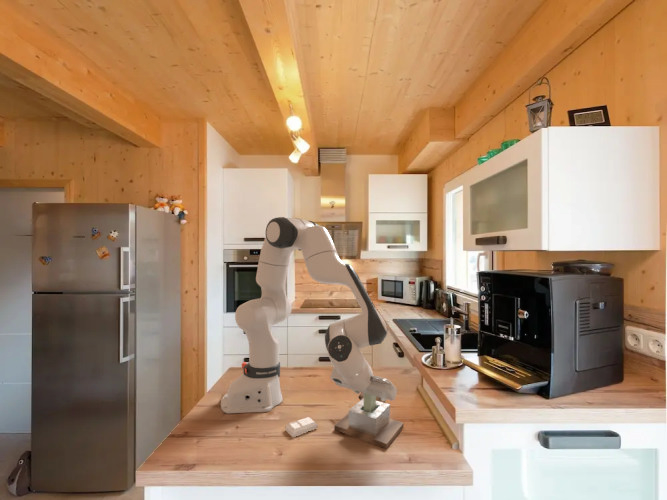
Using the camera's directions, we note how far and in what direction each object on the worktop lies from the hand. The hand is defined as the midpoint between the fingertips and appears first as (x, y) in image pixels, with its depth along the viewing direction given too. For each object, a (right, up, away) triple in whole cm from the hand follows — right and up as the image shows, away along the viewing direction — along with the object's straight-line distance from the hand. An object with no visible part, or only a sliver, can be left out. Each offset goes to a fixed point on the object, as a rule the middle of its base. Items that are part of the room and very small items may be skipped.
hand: (370, 394), depth 109 cm
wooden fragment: (+3, -11, +24) cm, 27 cm away
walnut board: (-1, -11, 0) cm, 11 cm away
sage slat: (-1, -8, 0) cm, 8 cm away
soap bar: (-22, -11, -2) cm, 25 cm away
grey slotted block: (-1, -9, 0) cm, 9 cm away
